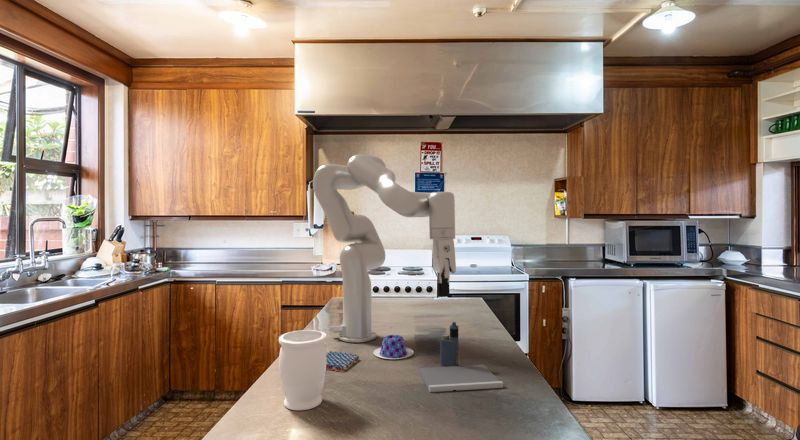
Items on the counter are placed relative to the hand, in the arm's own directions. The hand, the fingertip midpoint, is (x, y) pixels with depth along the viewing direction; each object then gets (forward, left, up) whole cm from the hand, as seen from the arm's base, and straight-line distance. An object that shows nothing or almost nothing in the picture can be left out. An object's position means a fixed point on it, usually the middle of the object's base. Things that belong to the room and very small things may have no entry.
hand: (443, 296), depth 128 cm
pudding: (-14, +3, -18) cm, 23 cm away
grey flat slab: (0, -18, -17) cm, 25 cm away
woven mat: (-31, -3, -18) cm, 36 cm away
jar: (-38, -27, -18) cm, 50 cm away
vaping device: (0, -9, -18) cm, 20 cm away
